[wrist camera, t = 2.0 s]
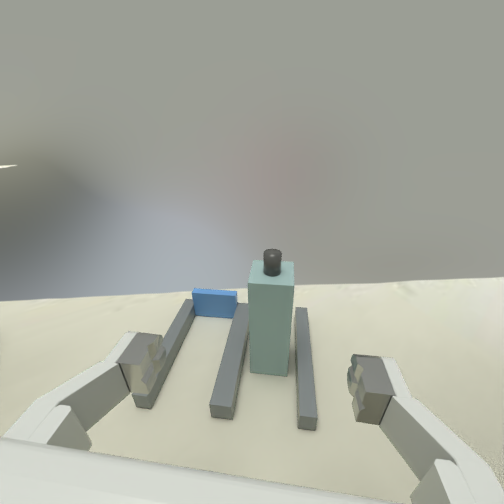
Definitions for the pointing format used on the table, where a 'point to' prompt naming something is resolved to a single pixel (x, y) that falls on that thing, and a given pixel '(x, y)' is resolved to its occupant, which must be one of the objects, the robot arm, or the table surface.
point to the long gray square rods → (235, 354)
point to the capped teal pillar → (270, 313)
